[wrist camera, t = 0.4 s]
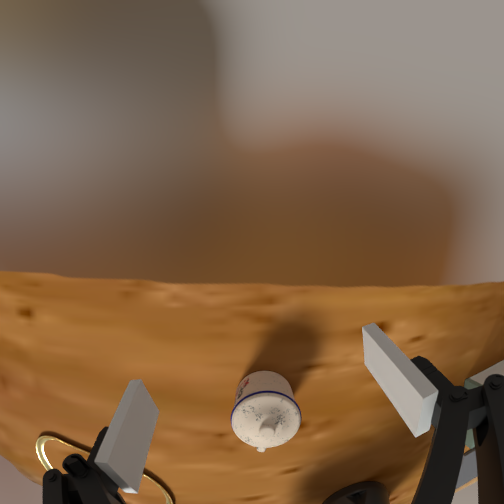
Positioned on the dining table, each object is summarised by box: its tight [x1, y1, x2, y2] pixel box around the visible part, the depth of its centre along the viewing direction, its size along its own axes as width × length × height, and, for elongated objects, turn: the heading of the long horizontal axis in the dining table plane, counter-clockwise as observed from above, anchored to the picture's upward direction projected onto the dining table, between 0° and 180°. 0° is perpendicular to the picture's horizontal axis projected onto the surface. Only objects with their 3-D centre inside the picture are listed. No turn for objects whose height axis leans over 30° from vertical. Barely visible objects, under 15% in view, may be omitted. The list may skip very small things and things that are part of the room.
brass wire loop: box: [36, 435, 173, 504], centre depth 39 cm, size 19×35×2 cm, turn 84°
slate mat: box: [456, 448, 478, 489], centre depth 38 cm, size 14×14×1 cm
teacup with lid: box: [231, 371, 301, 452], centre depth 35 cm, size 12×9×12 cm
